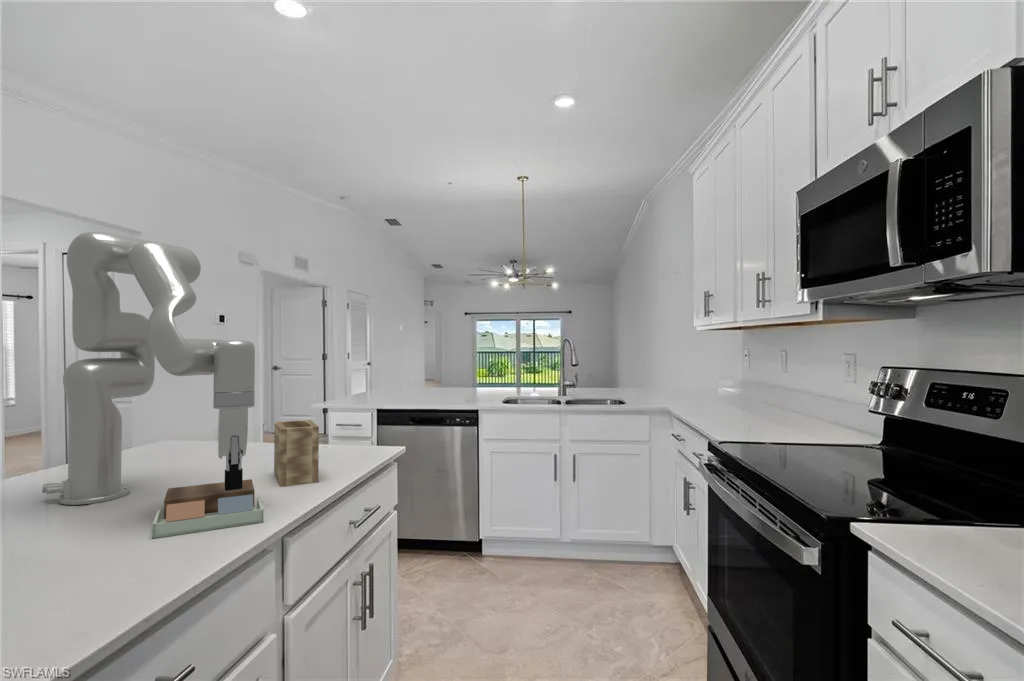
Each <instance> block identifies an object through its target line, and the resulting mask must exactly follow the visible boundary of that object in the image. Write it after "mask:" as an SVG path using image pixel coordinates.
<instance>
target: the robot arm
mask: <svg viewBox="0 0 1024 681" xmlns="http://www.w3.org/2000/svg"><path fill="white" fill-rule="evenodd" d="M66 252H67V253H66V269H67V274H68V277H69V280H70V283H71V290H72V300H71V303H72V304H71V305H72V307H71V309H72V314H71V315H72V316H71V318H72V319H71V321H72V324H71V326H72V327H71V328H72V332H71V333H72V339H73V344H74V345H75V347H76V348H77V349H78V350H81V351H84V352H91V353H120V354H119V356H120V357H98V358H97V357H94V358H91V357H90V358H84V359H80V360H77V361H75V362H72V363H71V364H69V365H68V366H67V367H66V368H65V370H64V372H63V375H62V385H63V390H64V393H65V396H66V405H67V414H68V419H67V420H68V440H67V442H68V447H67V450H68V452H67V453H68V455H67V457H68V458H67V459H68V460H67V479H66V480H62V481H61V482H57V483H52V482H51V483H44V484H43V485H42V490H41V491H42V493H43V494H46V495H48V494H50V495H51V494H55V493H60V495H59V496H58V503H59V504H61V505H65V506H67V505H68V506H70V505H71V506H77V505H78V506H79V505H91V504H98V503H104V502H108V501H114V500H117V499H120V498H123V497H125V496H127V495H129V493H130V487H129V486H127V485H124V484H122V451H123V450H122V447H123V446H122V443H123V442H122V438H123V437H122V436H123V431H122V429H123V423H122V422H123V419H122V414H121V412H120V411H119V409H118V408H117V406H116V404H115V403H114V401H113V400H114V399H123V398H132V397H133V398H134V397H139V396H142V395H145V394H147V392H149V391H150V390H151V389H152V387H153V385H154V380H155V372H156V371H155V369H156V367H155V362H156V360H157V362H158V363H159V366H161V368H163V370H164V371H166V372H167V373H168V374H169V375H173V376H175V377H188V376H189V377H191V376H210V375H213V398H212V399H213V401H212V402H213V403H212V404H213V407H212V408H213V409H216V410H219V412H218V422H217V424H218V425H217V427H218V430H217V431H218V432H217V435H218V436H217V446H218V447H217V451H218V452H217V454H218V455H217V456H218V458H219V459H223V457H225V469H224V482H225V490H226V491H229V490H237V489H242V480H243V474H244V473H243V470H244V469H243V468H242V463H243V462H242V461H243V460H242V457H245V455H246V454H247V445H248V431H249V429H248V427H249V426H248V425H249V408H254V407H255V398H256V397H255V395H256V394H255V393H256V392H255V386H256V385H255V383H256V382H255V381H256V380H255V377H256V376H255V373H256V372H255V370H256V369H255V368H256V361H255V360H256V359H255V358H256V357H255V356H256V348H255V345H254V343H253V342H252V341H250V340H249V341H248V340H235V339H233V340H224V339H210V338H209V339H206V338H205V339H202V338H183V336H182V334H181V333H180V331H179V329H178V326H177V325H176V322H175V320H174V319H175V317H177V316H181V315H182V314H184V313H186V312H188V311H189V310H191V309H192V308H193V306H195V304H196V301H197V294H196V292H195V291H194V290H193V288H192V286H191V284H192V283H194V282H196V280H198V278H199V277H200V275H201V272H202V271H201V262H200V260H199V258H198V256H197V254H195V253H194V252H193V251H192V250H190V249H188V248H186V247H182V246H177V245H171V244H167V243H163V242H157V241H148V240H144V239H139V238H134V237H130V236H129V237H128V236H124V235H119V234H117V233H116V234H115V233H110V232H109V233H108V232H102V231H87V232H82V233H80V234H78V235H77V236H75V238H74V239H73V240H72V241H71V243H69V246H68V248H67V251H66ZM109 272H112V273H118V274H125V275H133V276H134V277H135V280H136V282H138V284H139V286H140V289H141V290H142V292H143V294H144V296H145V297H146V299H147V302H148V303H149V304H150V306H151V308H152V311H151V313H150V315H149V318H147V317H146V316H144V315H142V314H140V313H136V312H125V311H121V304H120V301H121V295H120V290H119V288H118V286H117V284H116V282H115V281H114V279H113V278H112V277H111V275H109V274H108V273H109ZM155 359H156V360H155Z"/></svg>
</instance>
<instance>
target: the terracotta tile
mask: <svg viewBox="0 0 1024 681" xmlns="http://www.w3.org/2000/svg"><path fill="white" fill-rule="evenodd" d="M199 517H205V500H201V501H193V502H185V503H177V504H169V505H167V509H166V522H170V521H177V520H185V519H192V518H199Z"/></svg>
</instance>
